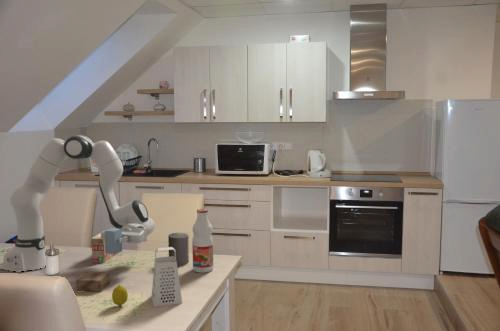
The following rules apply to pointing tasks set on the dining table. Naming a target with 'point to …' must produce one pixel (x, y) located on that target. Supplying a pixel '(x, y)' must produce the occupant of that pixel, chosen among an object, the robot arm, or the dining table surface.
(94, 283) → the walnut block
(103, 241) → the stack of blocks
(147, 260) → the dining table surface
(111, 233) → the slate block
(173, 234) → the pillar candle
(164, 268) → the grater
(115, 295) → the lemon
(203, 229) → the fruit juice
